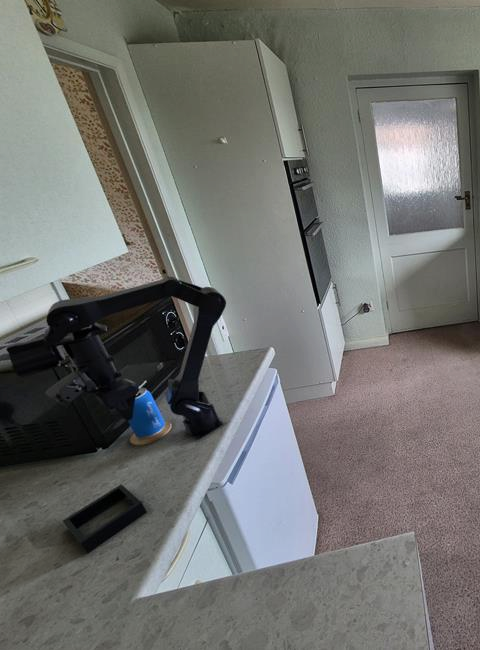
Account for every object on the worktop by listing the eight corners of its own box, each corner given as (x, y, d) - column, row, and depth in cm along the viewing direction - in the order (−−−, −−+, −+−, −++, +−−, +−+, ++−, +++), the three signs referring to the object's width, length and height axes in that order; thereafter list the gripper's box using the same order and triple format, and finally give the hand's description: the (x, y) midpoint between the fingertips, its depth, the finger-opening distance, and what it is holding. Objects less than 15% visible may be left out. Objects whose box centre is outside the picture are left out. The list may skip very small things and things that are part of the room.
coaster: (162, 418, 107) (161, 416, 107) (178, 427, 103) (177, 426, 103) (124, 438, 101) (123, 437, 100) (139, 450, 96) (138, 448, 96)
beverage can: (150, 441, 98) (130, 403, 93) (130, 438, 99) (110, 401, 95) (172, 423, 104) (154, 387, 99) (153, 422, 105) (134, 386, 100)
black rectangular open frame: (127, 493, 83) (121, 484, 82) (147, 512, 79) (141, 502, 77) (69, 530, 76) (62, 520, 75) (87, 553, 71) (80, 543, 70)
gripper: (25, 365, 81) (62, 423, 87) (54, 387, 72) (93, 450, 78) (91, 341, 89) (120, 396, 96) (124, 358, 80) (154, 417, 86)
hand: (121, 414), depth 89 cm, fingers open, 9 cm apart
